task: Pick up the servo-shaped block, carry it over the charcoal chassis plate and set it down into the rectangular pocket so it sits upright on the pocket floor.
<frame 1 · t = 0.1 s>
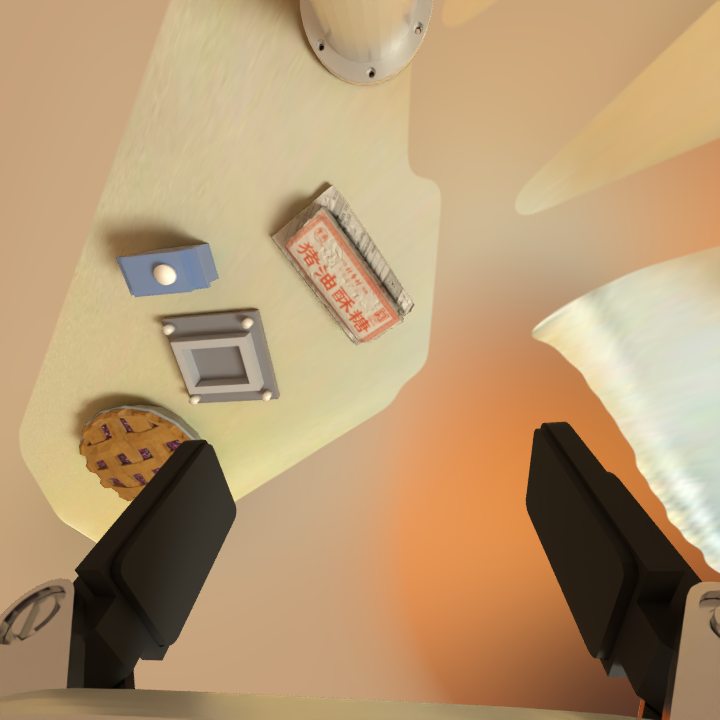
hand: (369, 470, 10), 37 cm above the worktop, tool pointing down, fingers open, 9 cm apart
pie: (158, 447, 61), on the worktop
chassis: (225, 358, 51), on the worktop
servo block: (189, 263, 45), on the worktop
packaged product: (347, 271, 45), on the worktop
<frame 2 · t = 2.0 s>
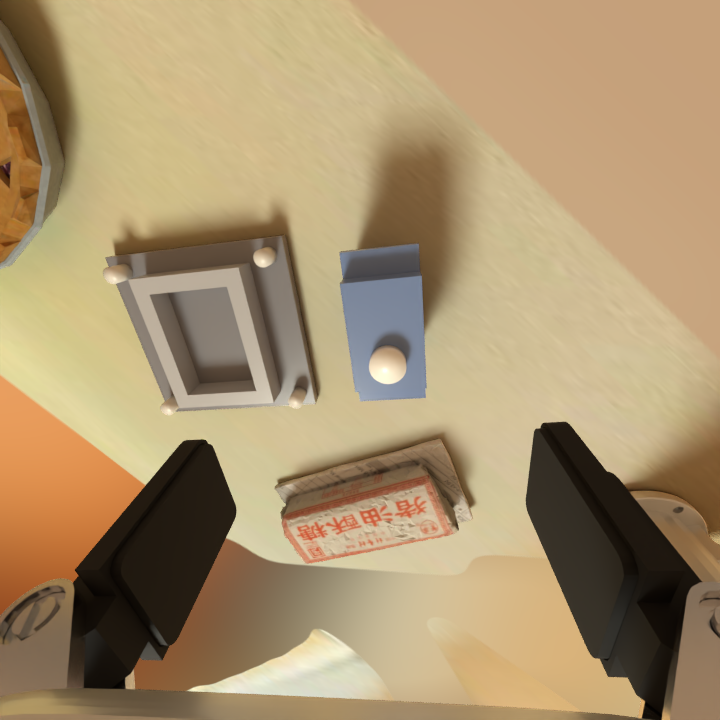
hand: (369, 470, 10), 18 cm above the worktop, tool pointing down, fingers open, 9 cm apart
chassis: (223, 331, 29), on the worktop
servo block: (387, 305, 27), on the worktop
packaged product: (373, 491, 36), on the worktop
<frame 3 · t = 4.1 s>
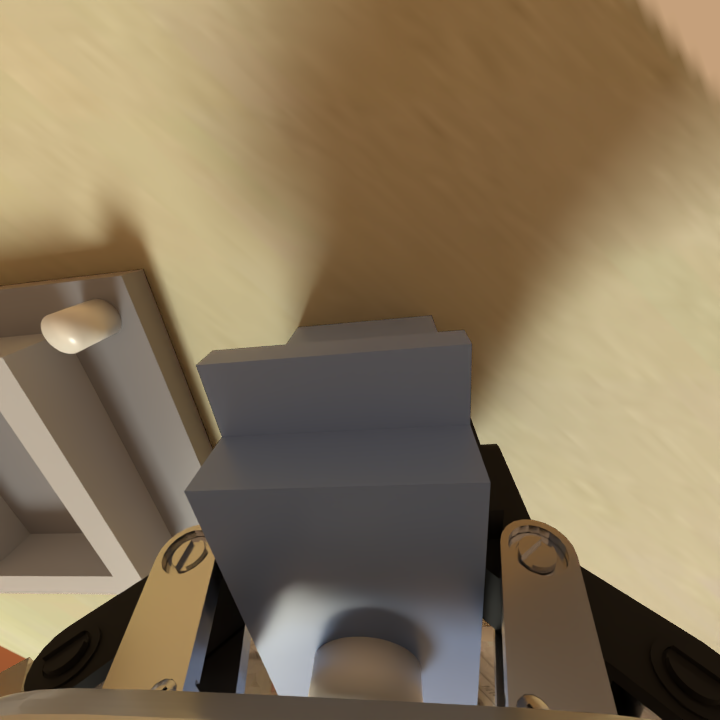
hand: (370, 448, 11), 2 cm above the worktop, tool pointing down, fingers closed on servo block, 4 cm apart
chassis: (60, 447, 15), on the worktop
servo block: (373, 408, 13), on the worktop, touching gripper
packaged product: (354, 657, 22), on the worktop
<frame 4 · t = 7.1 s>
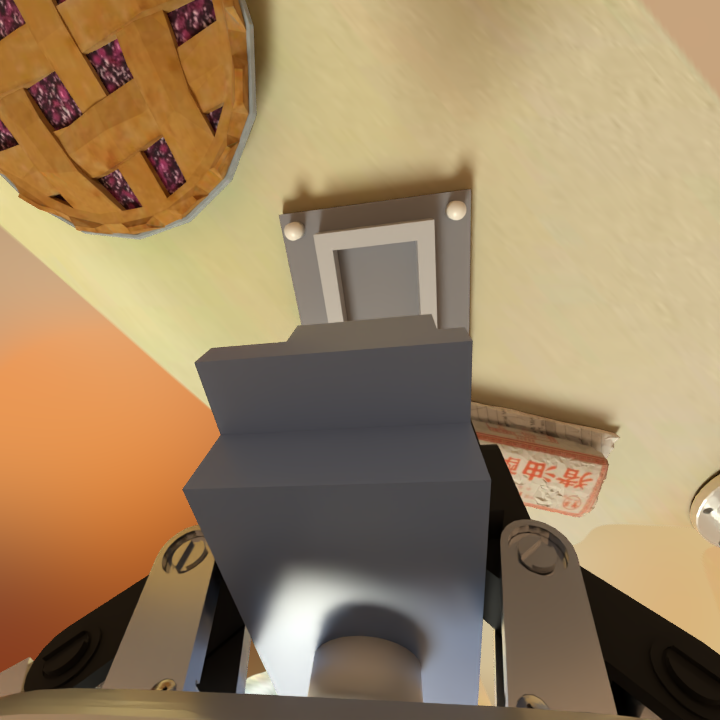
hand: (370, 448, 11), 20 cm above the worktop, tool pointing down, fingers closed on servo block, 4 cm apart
pie: (116, 65, 23), on the worktop
chassis: (381, 293, 28), on the worktop
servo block: (373, 407, 13), point 17 cm above the worktop, touching gripper
packaged product: (503, 447, 35), on the worktop
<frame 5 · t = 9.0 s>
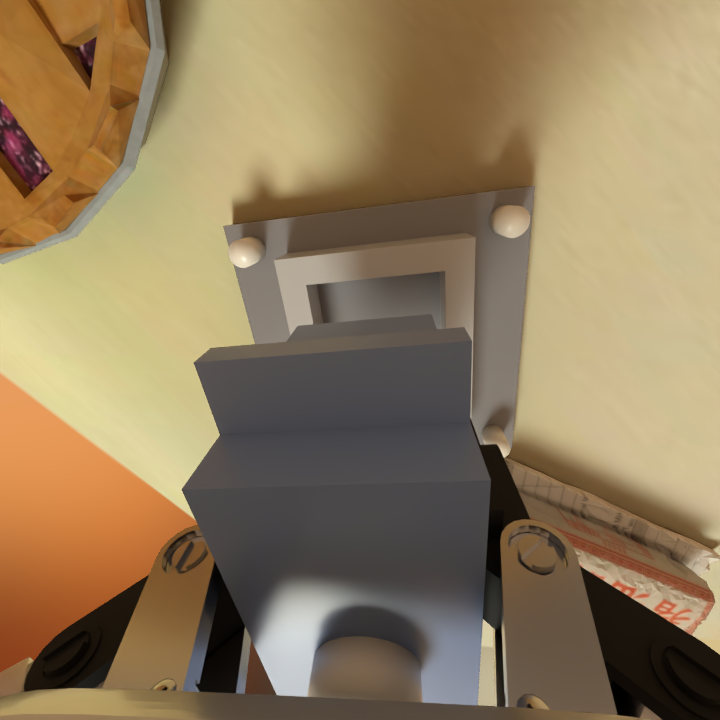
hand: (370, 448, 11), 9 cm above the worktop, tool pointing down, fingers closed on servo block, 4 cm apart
chassis: (384, 342, 19), on the worktop
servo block: (373, 407, 13), point 7 cm above the worktop, touching gripper
packaged product: (556, 536, 25), on the worktop
when the fingers open (4 cm above the worktop, at t = 10.4 s): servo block stays where it is, resting on chassis.
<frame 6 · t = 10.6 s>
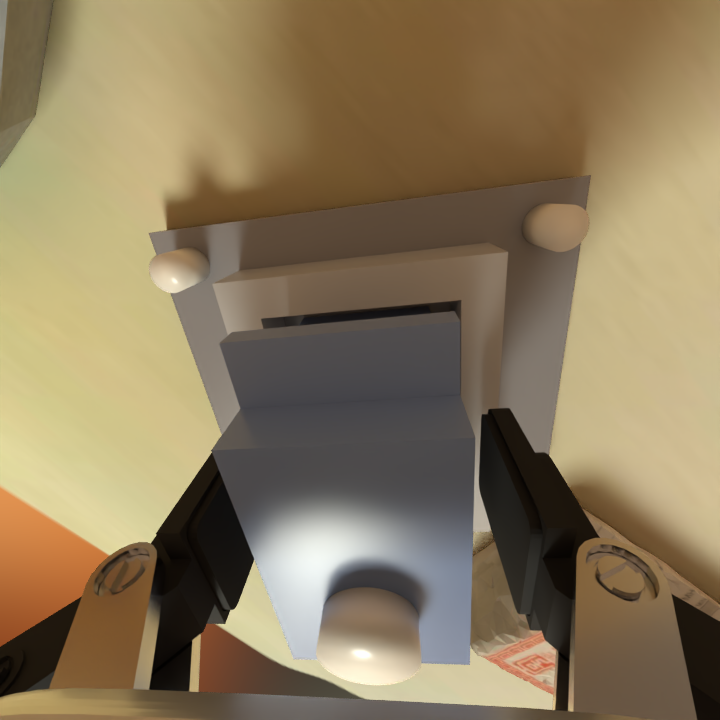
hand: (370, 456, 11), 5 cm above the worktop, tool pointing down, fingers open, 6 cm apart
chassis: (375, 383, 15), on the worktop
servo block: (375, 395, 14), point 1 cm above the worktop, touching chassis
packaged product: (593, 599, 21), on the worktop
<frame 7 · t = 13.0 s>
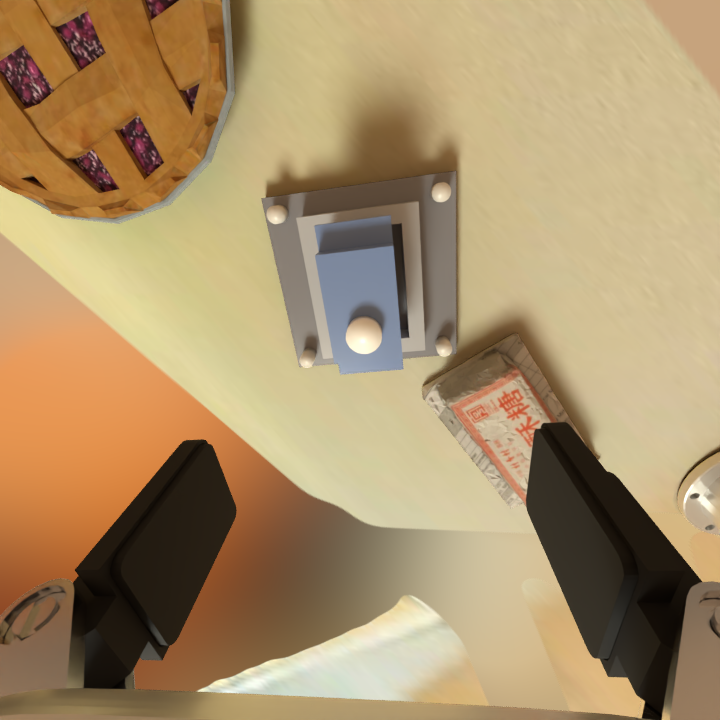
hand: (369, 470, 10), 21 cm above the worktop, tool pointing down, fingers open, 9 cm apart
pie: (90, 42, 23), on the worktop
chassis: (367, 279, 28), on the worktop
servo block: (367, 282, 27), point 1 cm above the worktop, touching chassis
packaged product: (508, 422, 34), on the worktop
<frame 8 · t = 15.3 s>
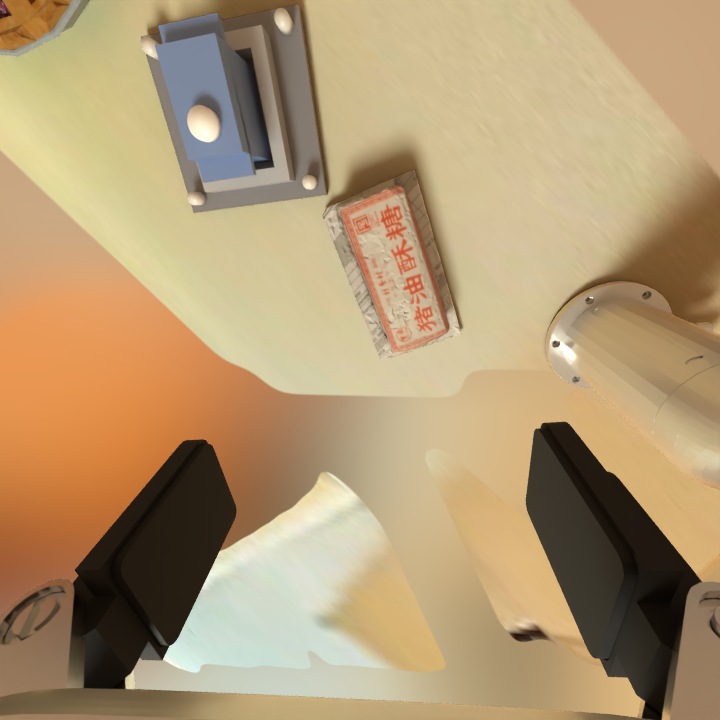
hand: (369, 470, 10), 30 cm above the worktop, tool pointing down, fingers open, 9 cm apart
chassis: (243, 123, 32), on the worktop
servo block: (239, 120, 31), point 1 cm above the worktop, touching chassis
packaged product: (395, 273, 38), on the worktop
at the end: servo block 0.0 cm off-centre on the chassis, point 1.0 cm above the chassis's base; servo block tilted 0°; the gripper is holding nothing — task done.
